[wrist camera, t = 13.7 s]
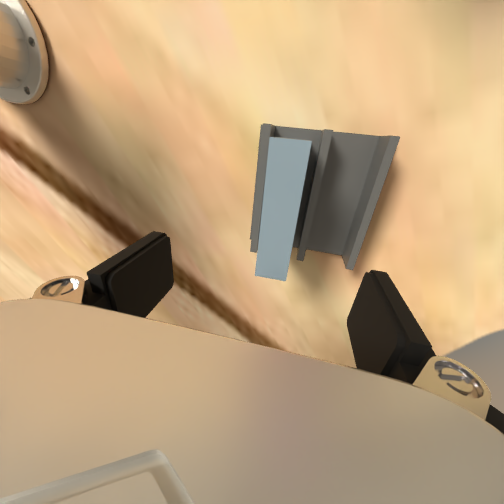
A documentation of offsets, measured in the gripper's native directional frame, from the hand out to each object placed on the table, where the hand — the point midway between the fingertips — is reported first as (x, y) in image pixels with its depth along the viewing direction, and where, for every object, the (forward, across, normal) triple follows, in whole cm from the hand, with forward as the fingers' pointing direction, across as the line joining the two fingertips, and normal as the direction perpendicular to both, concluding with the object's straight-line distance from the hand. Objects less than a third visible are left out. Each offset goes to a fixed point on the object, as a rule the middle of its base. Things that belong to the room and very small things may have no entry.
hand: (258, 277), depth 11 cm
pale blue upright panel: (+19, 0, 0) cm, 19 cm away
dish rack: (+20, -3, 0) cm, 20 cm away
